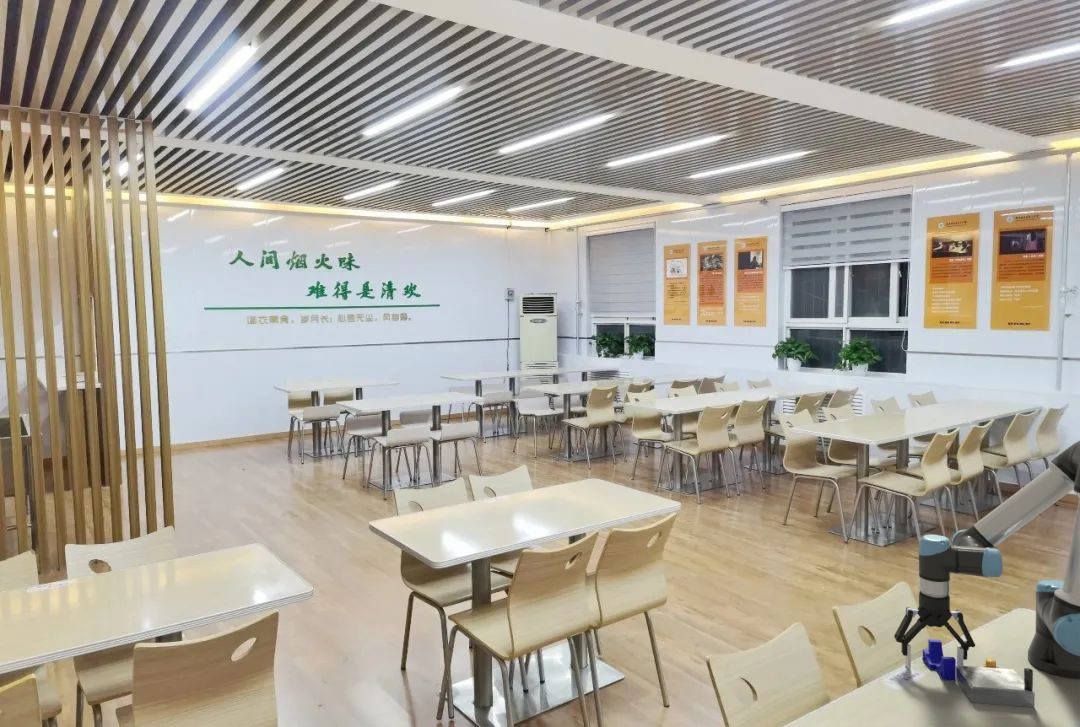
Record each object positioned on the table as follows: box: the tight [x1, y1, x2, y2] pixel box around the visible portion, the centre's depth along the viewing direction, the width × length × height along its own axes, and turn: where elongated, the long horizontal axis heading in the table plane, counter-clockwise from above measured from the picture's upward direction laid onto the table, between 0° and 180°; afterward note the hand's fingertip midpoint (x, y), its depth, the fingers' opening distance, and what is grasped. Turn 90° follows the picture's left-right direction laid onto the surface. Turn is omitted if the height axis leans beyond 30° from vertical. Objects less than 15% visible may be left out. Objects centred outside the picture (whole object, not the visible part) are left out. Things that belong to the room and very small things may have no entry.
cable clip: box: [922, 638, 957, 682], centre depth 201 cm, size 12×4×6 cm, turn 169°
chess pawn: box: [982, 658, 999, 668], centre depth 198 cm, size 3×3×4 cm
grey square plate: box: [956, 665, 1036, 708], centre depth 187 cm, size 14×12×9 cm
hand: (933, 668), depth 201 cm, fingers open, 12 cm apart
